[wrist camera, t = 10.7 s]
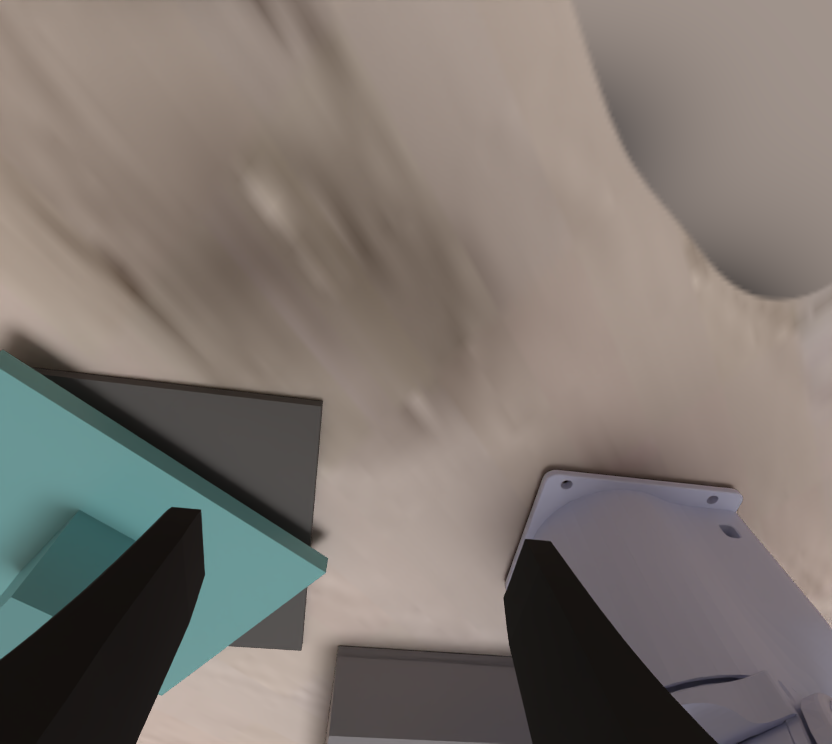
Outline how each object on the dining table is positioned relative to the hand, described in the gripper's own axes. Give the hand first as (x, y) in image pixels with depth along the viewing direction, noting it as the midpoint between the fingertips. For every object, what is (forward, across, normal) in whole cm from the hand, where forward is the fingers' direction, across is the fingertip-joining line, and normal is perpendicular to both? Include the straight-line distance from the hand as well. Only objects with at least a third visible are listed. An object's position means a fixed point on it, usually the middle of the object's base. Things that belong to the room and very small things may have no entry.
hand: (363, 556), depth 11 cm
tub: (+9, -7, +24) cm, 27 cm away
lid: (+9, +11, +10) cm, 18 cm away
